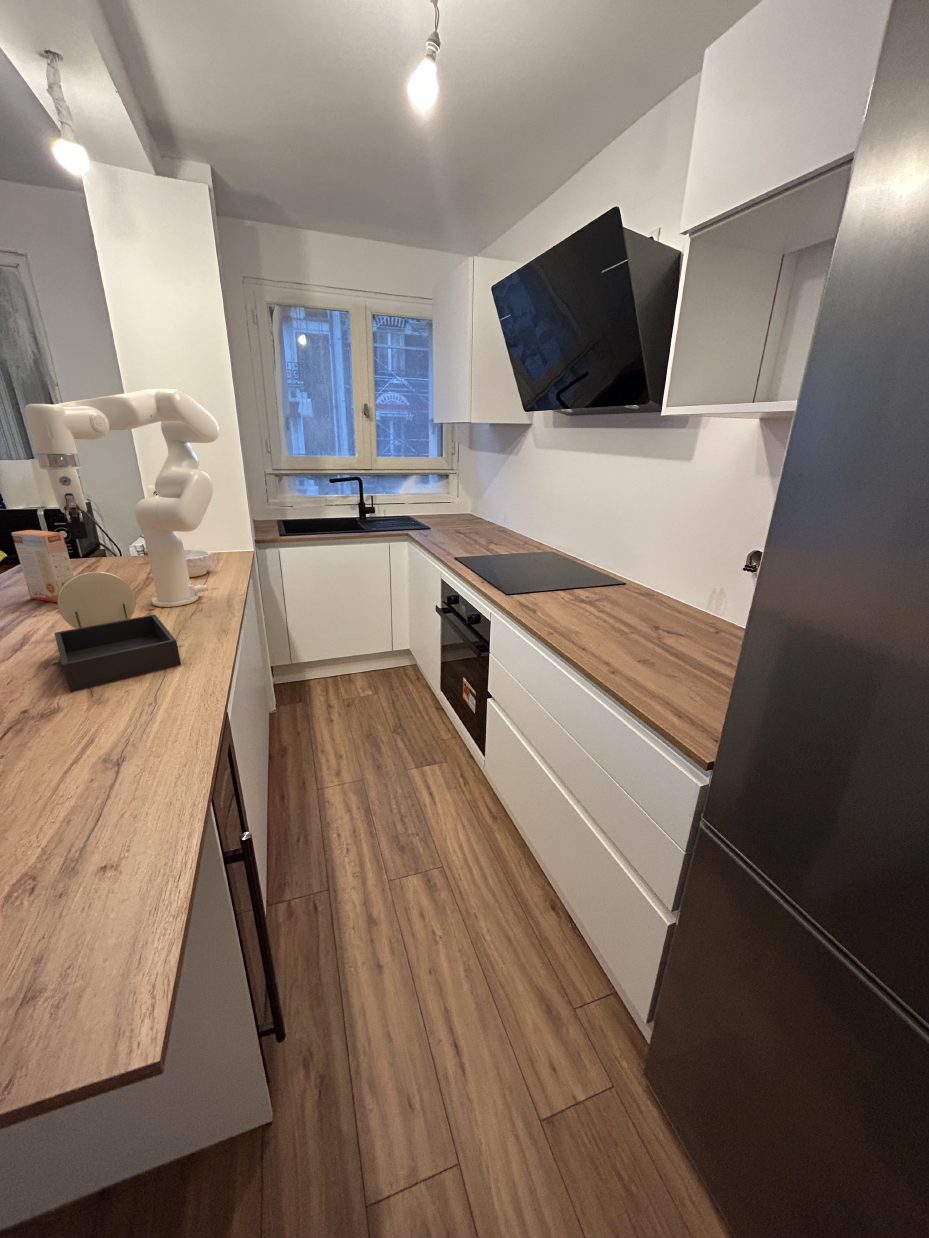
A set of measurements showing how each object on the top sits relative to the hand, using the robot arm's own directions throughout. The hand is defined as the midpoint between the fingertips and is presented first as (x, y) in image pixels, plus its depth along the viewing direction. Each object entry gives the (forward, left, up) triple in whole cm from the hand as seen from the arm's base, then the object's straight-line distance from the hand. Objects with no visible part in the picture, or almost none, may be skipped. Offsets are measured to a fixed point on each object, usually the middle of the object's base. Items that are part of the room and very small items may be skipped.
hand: (78, 535), depth 118 cm
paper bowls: (-33, -48, -26) cm, 63 cm away
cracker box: (+7, -42, -25) cm, 49 cm away
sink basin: (-1, +23, -25) cm, 34 cm away
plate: (-1, 0, -25) cm, 25 cm away
